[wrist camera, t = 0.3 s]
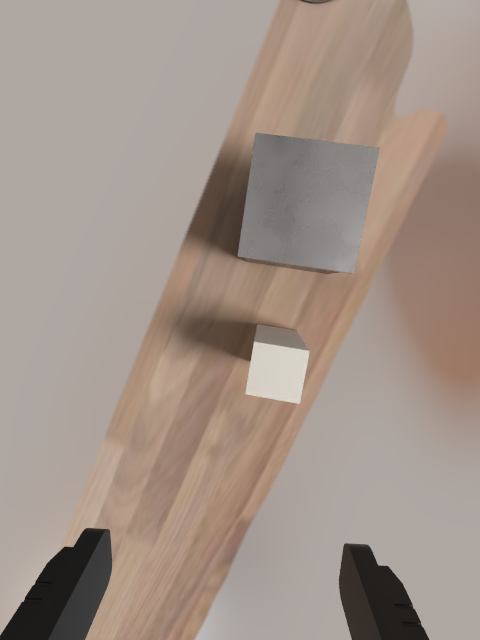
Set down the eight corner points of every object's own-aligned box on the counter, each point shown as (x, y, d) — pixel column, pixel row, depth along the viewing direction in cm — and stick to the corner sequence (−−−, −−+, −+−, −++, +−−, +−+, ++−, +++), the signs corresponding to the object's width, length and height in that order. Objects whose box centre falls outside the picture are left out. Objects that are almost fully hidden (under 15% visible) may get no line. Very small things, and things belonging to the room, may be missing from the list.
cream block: (257, 324, 37) (254, 341, 26) (296, 330, 37) (309, 350, 26) (251, 361, 38) (245, 394, 27) (289, 368, 38) (299, 403, 27)
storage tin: (258, 175, 35) (255, 132, 25) (346, 186, 34) (379, 147, 24) (245, 262, 36) (237, 256, 26) (329, 275, 36) (353, 273, 26)
